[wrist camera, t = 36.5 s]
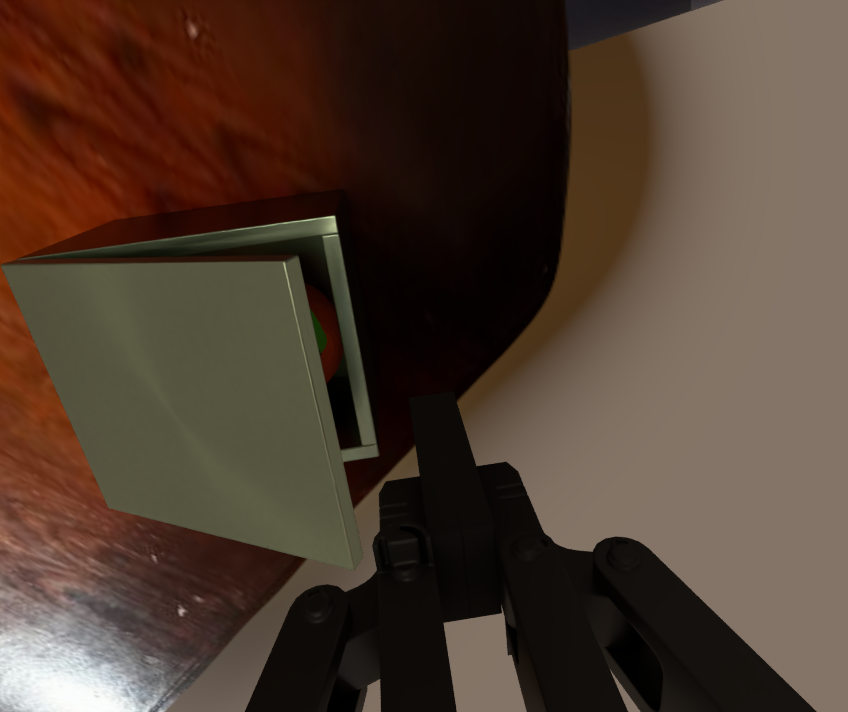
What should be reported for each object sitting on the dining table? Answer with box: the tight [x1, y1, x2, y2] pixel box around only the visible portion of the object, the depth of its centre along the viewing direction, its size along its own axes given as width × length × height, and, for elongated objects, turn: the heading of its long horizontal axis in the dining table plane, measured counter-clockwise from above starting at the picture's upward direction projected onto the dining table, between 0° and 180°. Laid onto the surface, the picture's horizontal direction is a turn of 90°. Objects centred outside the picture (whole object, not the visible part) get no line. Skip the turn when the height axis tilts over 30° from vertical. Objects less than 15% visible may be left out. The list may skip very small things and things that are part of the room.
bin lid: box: [1, 255, 363, 570], centre depth 22 cm, size 14×13×1 cm
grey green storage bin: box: [17, 189, 379, 462], centre depth 30 cm, size 14×13×10 cm
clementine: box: [305, 283, 343, 384], centre depth 30 cm, size 8×7×7 cm
